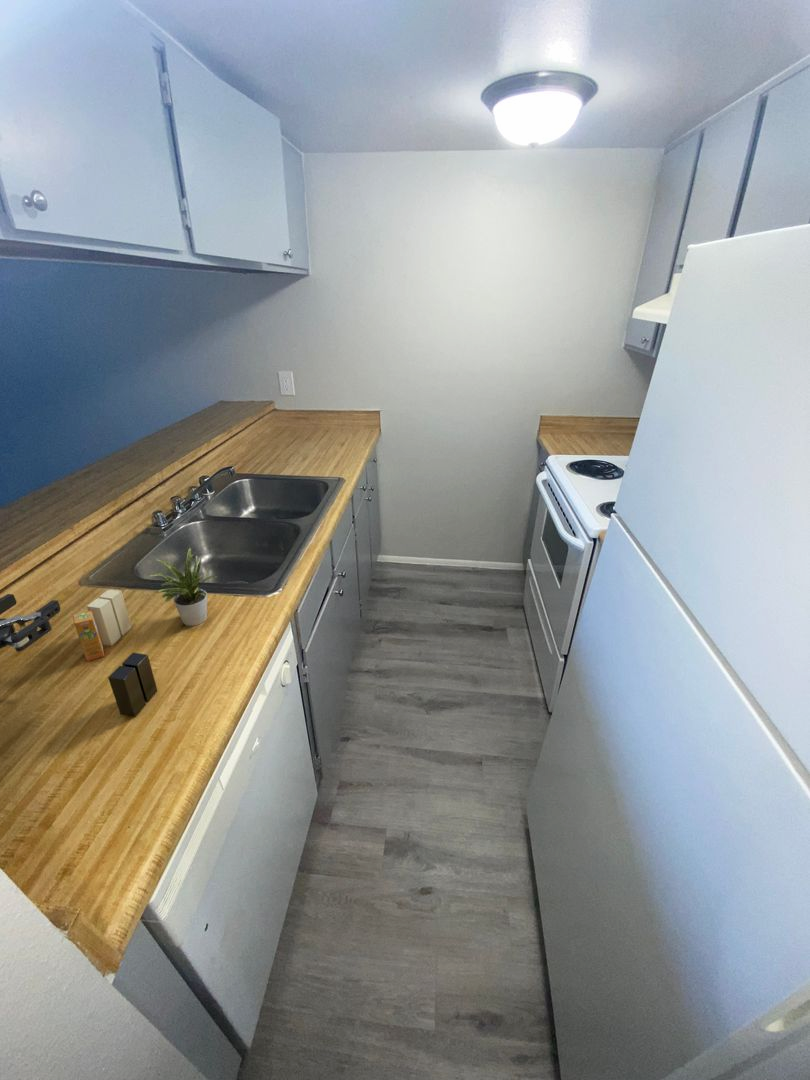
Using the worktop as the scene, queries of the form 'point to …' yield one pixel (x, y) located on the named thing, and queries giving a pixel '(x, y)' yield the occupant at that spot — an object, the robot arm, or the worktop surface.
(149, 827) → the worktop surface
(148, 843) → the worktop surface
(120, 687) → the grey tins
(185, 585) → the house plant
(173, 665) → the worktop surface
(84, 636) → the supplement box
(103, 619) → the cream boxes
